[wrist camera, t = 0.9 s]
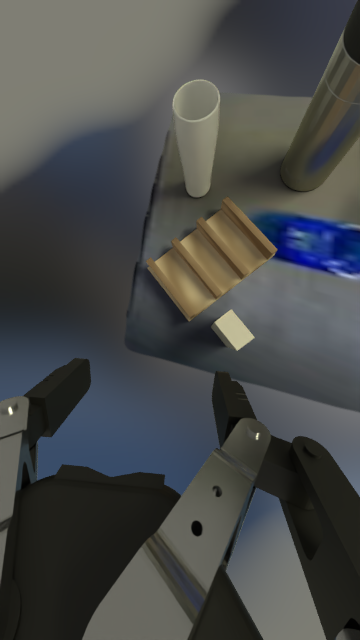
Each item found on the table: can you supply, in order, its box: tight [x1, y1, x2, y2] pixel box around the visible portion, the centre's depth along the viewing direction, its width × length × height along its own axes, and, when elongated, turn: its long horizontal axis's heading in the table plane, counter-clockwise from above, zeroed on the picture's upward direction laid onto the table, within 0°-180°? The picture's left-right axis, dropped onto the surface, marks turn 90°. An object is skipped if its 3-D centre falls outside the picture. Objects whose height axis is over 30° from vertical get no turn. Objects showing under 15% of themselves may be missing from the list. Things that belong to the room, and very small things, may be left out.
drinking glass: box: [172, 80, 220, 197], centre depth 33 cm, size 7×7×15 cm
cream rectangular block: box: [211, 310, 255, 351], centre depth 31 cm, size 3×5×11 cm, turn 37°
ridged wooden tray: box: [146, 196, 277, 321], centre depth 36 cm, size 21×14×4 cm, turn 127°
